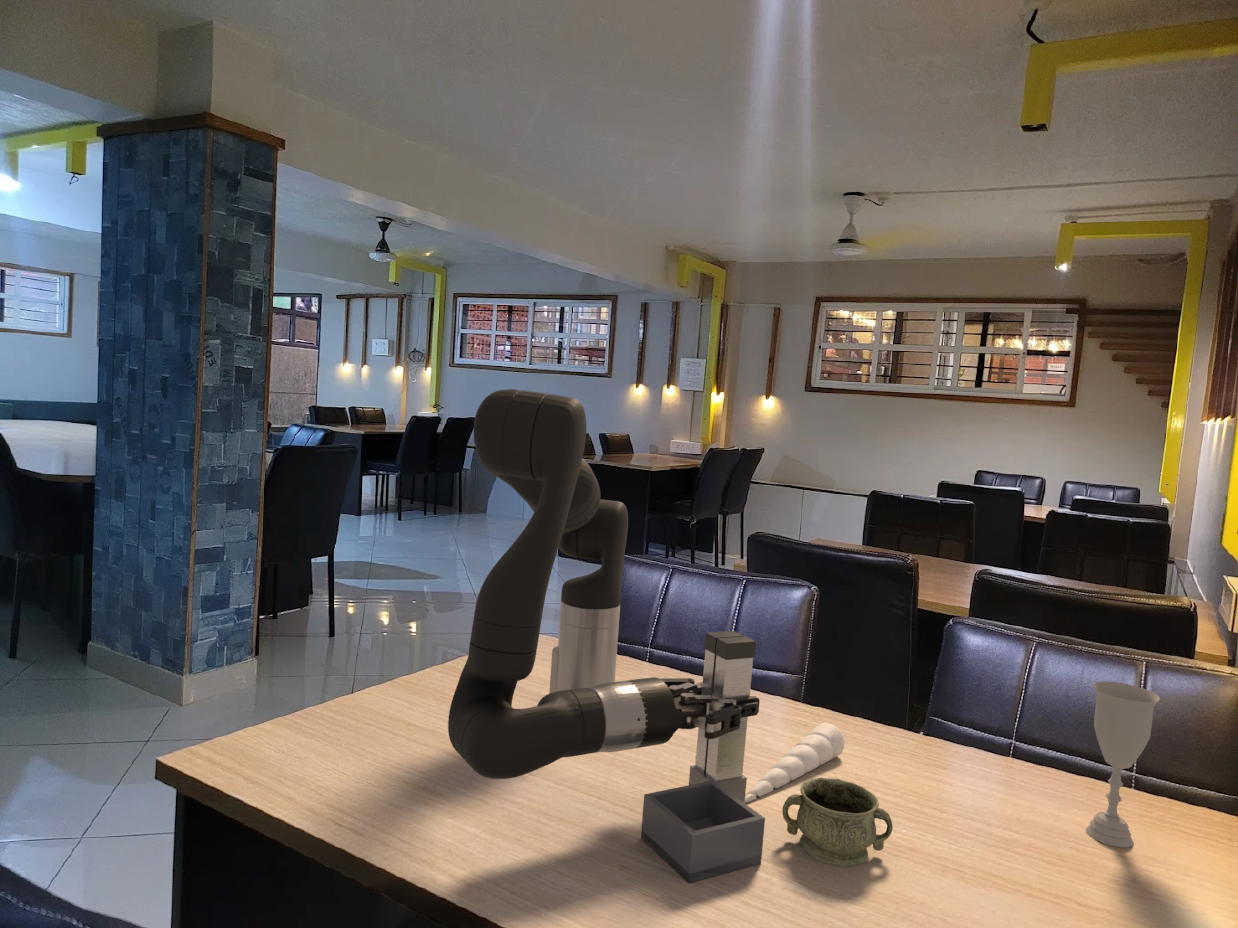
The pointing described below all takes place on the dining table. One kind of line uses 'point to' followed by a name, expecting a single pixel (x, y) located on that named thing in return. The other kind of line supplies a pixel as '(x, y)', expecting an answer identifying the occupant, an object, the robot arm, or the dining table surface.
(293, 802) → the dining table surface
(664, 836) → the grey open storage bin
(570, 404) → the robot arm
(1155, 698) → the chalice
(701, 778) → the split metal pillar
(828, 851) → the vessel
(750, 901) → the dining table surface
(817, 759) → the unicorn horn
